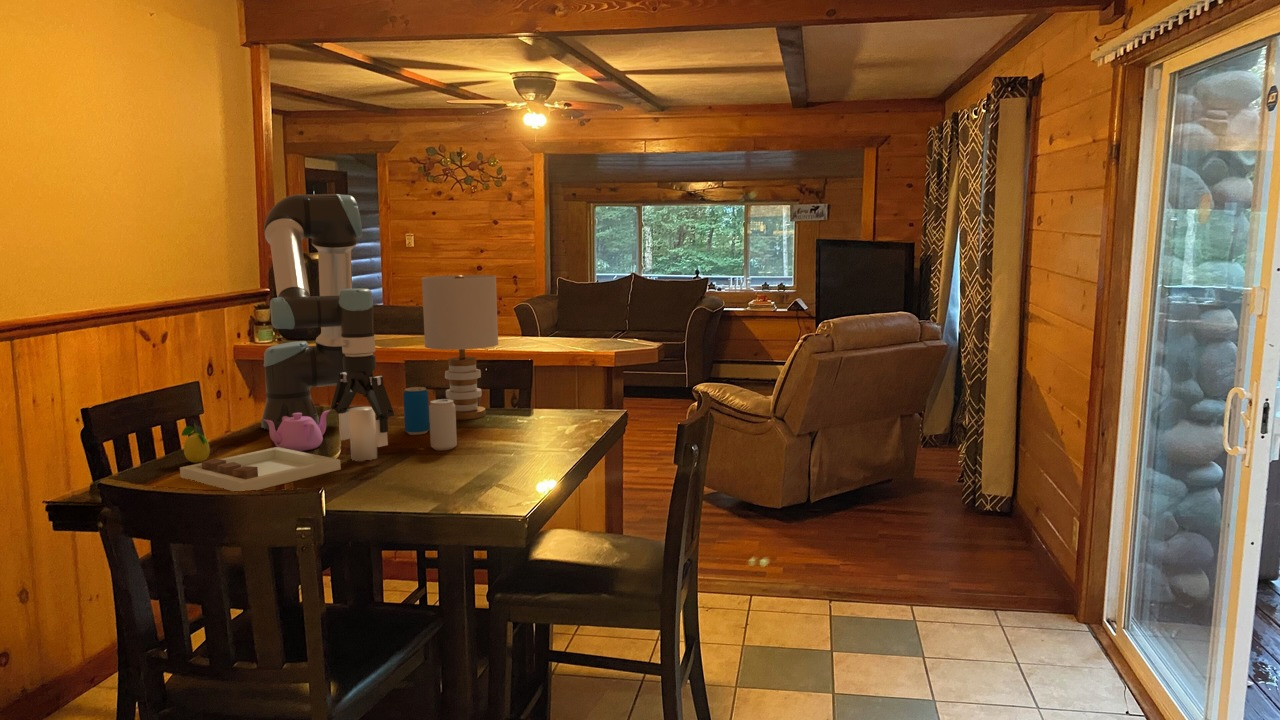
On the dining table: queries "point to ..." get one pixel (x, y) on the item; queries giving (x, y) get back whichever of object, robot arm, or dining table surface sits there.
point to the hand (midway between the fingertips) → (363, 442)
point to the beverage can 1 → (416, 410)
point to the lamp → (461, 331)
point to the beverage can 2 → (442, 424)
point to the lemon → (195, 445)
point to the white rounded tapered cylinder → (362, 433)
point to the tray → (265, 469)
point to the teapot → (298, 432)
